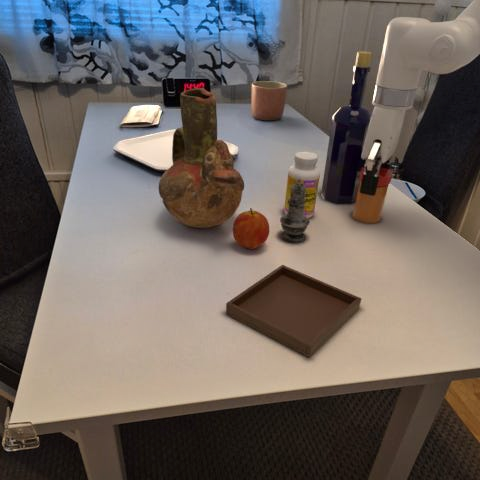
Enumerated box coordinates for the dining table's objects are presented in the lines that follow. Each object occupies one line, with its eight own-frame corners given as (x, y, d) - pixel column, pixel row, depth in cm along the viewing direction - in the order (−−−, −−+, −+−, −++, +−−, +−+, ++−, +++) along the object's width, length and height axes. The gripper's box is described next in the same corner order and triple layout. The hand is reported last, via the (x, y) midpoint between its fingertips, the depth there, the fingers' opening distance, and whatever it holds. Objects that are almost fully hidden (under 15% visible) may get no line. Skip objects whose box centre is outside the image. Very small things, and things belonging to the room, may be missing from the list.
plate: (184, 133, 143) (184, 126, 141) (248, 157, 127) (249, 149, 126) (104, 152, 126) (103, 144, 125) (167, 181, 111) (167, 173, 109)
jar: (384, 216, 99) (395, 174, 93) (372, 225, 95) (383, 182, 89) (360, 208, 102) (369, 167, 96) (347, 217, 98) (356, 174, 92)
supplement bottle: (297, 223, 95) (305, 162, 87) (277, 211, 99) (283, 153, 91) (320, 215, 98) (329, 157, 90) (299, 205, 102) (307, 148, 94)
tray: (359, 308, 71) (361, 298, 70) (309, 357, 62) (311, 346, 61) (281, 274, 79) (282, 264, 77) (225, 314, 69) (226, 303, 68)
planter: (267, 124, 155) (269, 89, 148) (243, 116, 162) (244, 83, 155) (291, 118, 162) (294, 85, 155) (267, 111, 169) (269, 79, 162)
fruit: (253, 234, 90) (255, 196, 85) (275, 248, 86) (279, 210, 81) (225, 243, 87) (225, 205, 82) (246, 258, 82) (248, 219, 78)
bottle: (360, 191, 110) (389, 51, 91) (356, 206, 103) (387, 57, 84) (323, 186, 112) (344, 47, 93) (317, 201, 105) (338, 54, 86)
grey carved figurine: (309, 232, 92) (317, 175, 84) (304, 245, 87) (312, 186, 80) (281, 228, 93) (287, 171, 85) (275, 240, 88) (281, 182, 81)
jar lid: (355, 174, 96) (357, 165, 95) (385, 174, 96) (387, 166, 95) (363, 185, 91) (365, 176, 90) (394, 186, 91) (396, 177, 90)
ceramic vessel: (192, 262, 81) (187, 115, 65) (143, 207, 98) (130, 81, 83) (271, 242, 88) (284, 105, 72) (212, 194, 105) (212, 76, 90)
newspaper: (158, 128, 146) (156, 120, 145) (121, 131, 147) (119, 123, 145) (166, 110, 164) (164, 103, 162) (133, 113, 164) (131, 105, 163)
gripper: (386, 86, 91) (367, 171, 102) (360, 102, 79) (342, 197, 90) (423, 91, 88) (400, 178, 99) (402, 109, 76) (379, 206, 87)
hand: (373, 187), depth 94 cm, fingers open, 7 cm apart
